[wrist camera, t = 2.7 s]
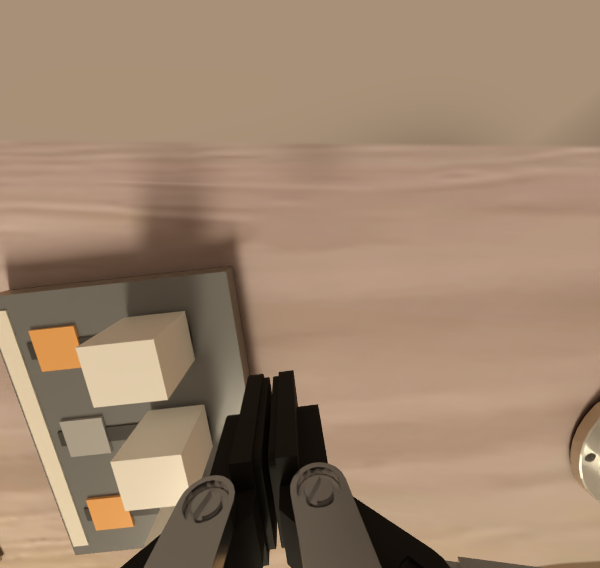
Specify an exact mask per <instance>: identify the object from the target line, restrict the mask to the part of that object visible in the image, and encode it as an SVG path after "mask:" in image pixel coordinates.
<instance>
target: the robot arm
mask: <svg viewBox="0 0 600 568" xmlns="http://www.w3.org/2000/svg"><path fill="white" fill-rule="evenodd" d="M570 458H571V467H572V470H573V473H574V476H575V477H576V479H577V481H578V482H579V484H580V485H581V486H582V487H583V488H584V489H585V490H586V491H587V492H588V493H589V494H590V495H591V496H592V497H594V498H595V499H596V500H598V501H599V502H600V401H599V402H598V403H597V404H595V405H594V406H593V408H592V409H591V410H590V411H589V412H588V413H587V414H586V415H585V417H584V418H583V420H582V422H581V423H580V425H579V426H578V428H577V430H576V433H575V435H574V438H573V440H572V446H571V451H570ZM277 522H278V528H279V534H280V541H281V547H282V548H285V551H286V557H287V563H288V565H289V566H290V567H291V568H540V567H533V566H525V565H518V564H510V563H503V562H495V561H487V560H480V559H472V558H465V557H458V562H452V561H445V560H444V559H443V558H442V557H441V556H440V555H439V554H437V553H436V552H435V551H434V550H433V549H431V548H430V547H428V546H427V545H425V544H424V543H422V542H421V541H419V540H418V539H416V538H415V537H413V536H412V535H410V534H409V533H407V532H405V531H404V530H402V529H401V528H399V527H398V526H396V525H395V524H393V523H392V522H390V521H389V520H387V519H386V518H384V517H383V516H381V515H380V514H378V513H377V512H375V511H374V510H372V509H371V508H369V507H368V506H366V505H365V504H363V503H362V502H360V501H359V500H357V499H356V498H354V497H353V496H352V493H351V491H350V488H349V486H348V483H347V481H346V478H345V477H344V475H343V473H342V472H341V471H340V470H339V469H338V468H337V467H335V466H333V465H331V464H328V462H327V456H326V450H325V444H324V438H323V432H322V426H321V420H320V414H319V408H318V404H317V405H309V406H301V407H298V403H297V395H296V387H295V379H294V372H293V370H292V371H284V372H279V376H275V377H273V389H272V391H271V384H270V378H269V377H267V378H264V375H263V374H259V375H250V376H248V378H247V383H246V387H245V392H244V396H243V401H242V405H241V410H240V414H235V415H228V416H227V417H226V420H225V423H224V427H223V430H222V434H221V437H220V441H219V444H218V448H217V452H216V455H215V459H214V462H213V466H212V469H211V473H210V476H207V477H205V478H202V479H200V480H198V481H196V482H195V483H193V484H192V485H191V486H190V487H189V488H187V489H186V490H185V491H184V493H183V494H182V496H181V497H180V499H179V500H178V502H177V504H176V506H175V508H174V510H173V512H172V514H171V516H170V518H169V520H168V522H167V523H166V525H165V527H164V529H163V531H162V533H161V534H160V535H159V536H158V537H156V538H155V539H154V540H153V541H152V542H150V543H149V544H148V545H147V546H146V547H145V548H143V549H142V550H141V551H140V552H139V553H137V554H136V555H135V556H134V557H133V558H131V559H130V560H129V561H128V562H127V563H125V564H124V565H123V566H122V567H121V568H263V566H266V565H269V551H270V549H276V544H277Z"/></svg>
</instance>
